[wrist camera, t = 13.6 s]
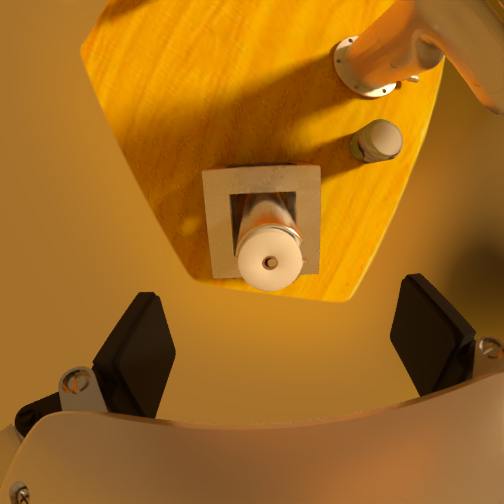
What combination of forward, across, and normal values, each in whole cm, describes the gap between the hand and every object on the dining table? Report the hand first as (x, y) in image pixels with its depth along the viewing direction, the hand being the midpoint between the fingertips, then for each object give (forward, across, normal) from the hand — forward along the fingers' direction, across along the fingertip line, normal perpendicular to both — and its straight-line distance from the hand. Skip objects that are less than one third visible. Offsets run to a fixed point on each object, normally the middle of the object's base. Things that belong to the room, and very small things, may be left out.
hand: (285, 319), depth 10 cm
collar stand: (+38, +1, +4) cm, 38 cm away
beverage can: (+39, -18, -6) cm, 43 cm away
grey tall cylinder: (+38, 0, +4) cm, 39 cm away
